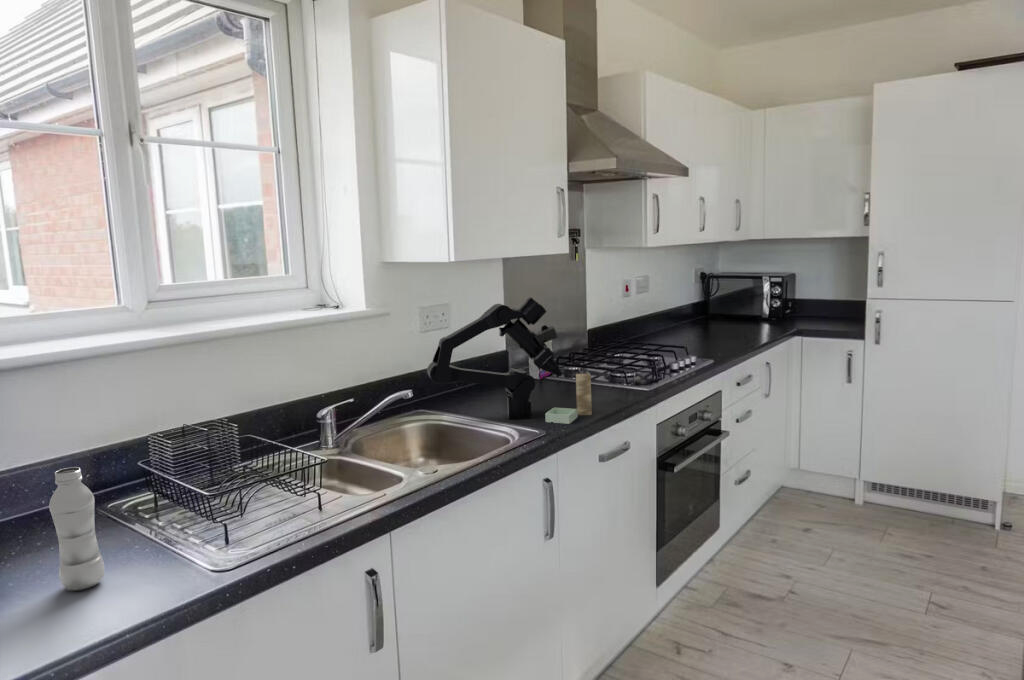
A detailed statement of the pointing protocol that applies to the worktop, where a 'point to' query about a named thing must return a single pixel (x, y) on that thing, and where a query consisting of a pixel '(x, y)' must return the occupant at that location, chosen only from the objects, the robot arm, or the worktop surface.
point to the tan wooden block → (583, 394)
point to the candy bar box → (536, 371)
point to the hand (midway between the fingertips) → (558, 372)
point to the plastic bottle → (75, 531)
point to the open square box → (561, 415)
